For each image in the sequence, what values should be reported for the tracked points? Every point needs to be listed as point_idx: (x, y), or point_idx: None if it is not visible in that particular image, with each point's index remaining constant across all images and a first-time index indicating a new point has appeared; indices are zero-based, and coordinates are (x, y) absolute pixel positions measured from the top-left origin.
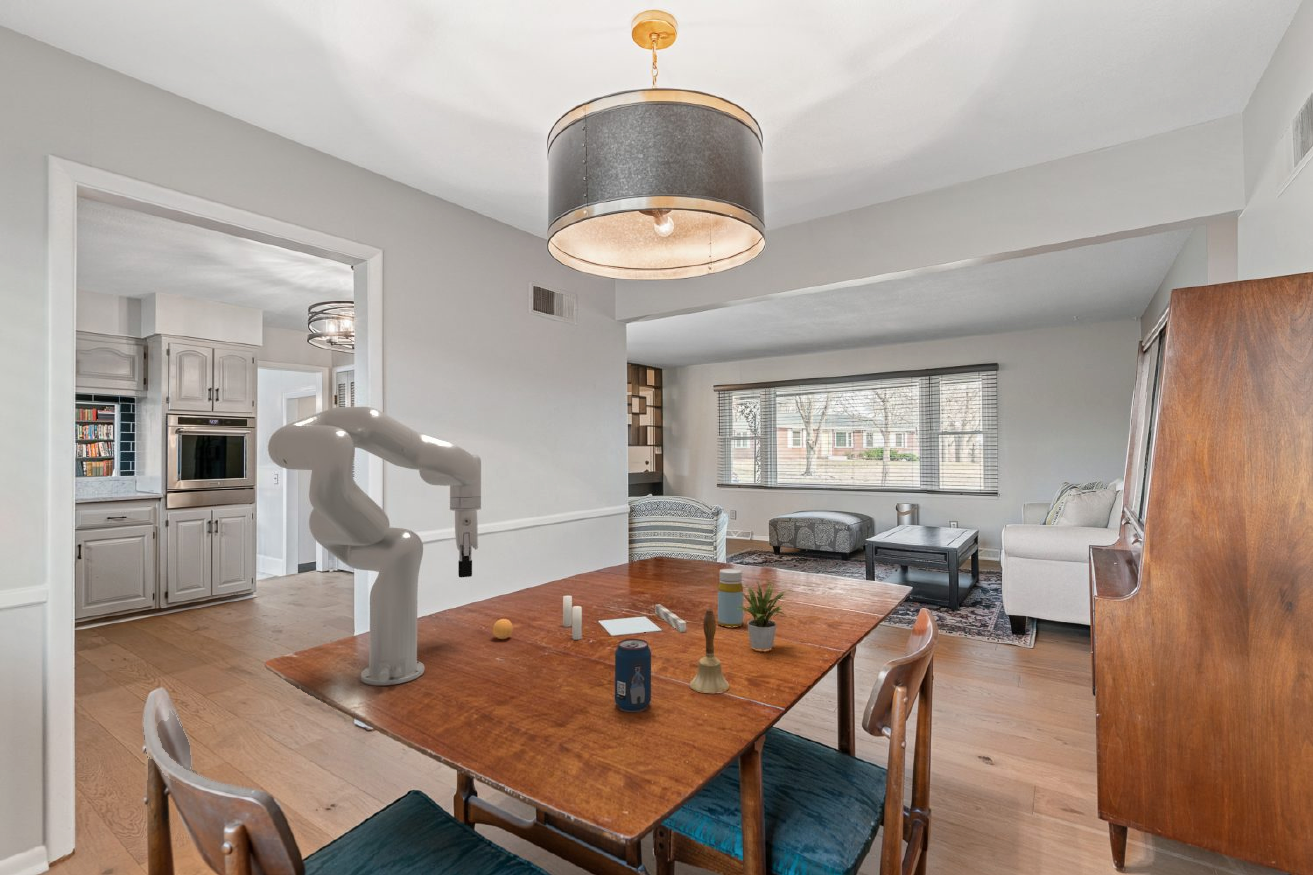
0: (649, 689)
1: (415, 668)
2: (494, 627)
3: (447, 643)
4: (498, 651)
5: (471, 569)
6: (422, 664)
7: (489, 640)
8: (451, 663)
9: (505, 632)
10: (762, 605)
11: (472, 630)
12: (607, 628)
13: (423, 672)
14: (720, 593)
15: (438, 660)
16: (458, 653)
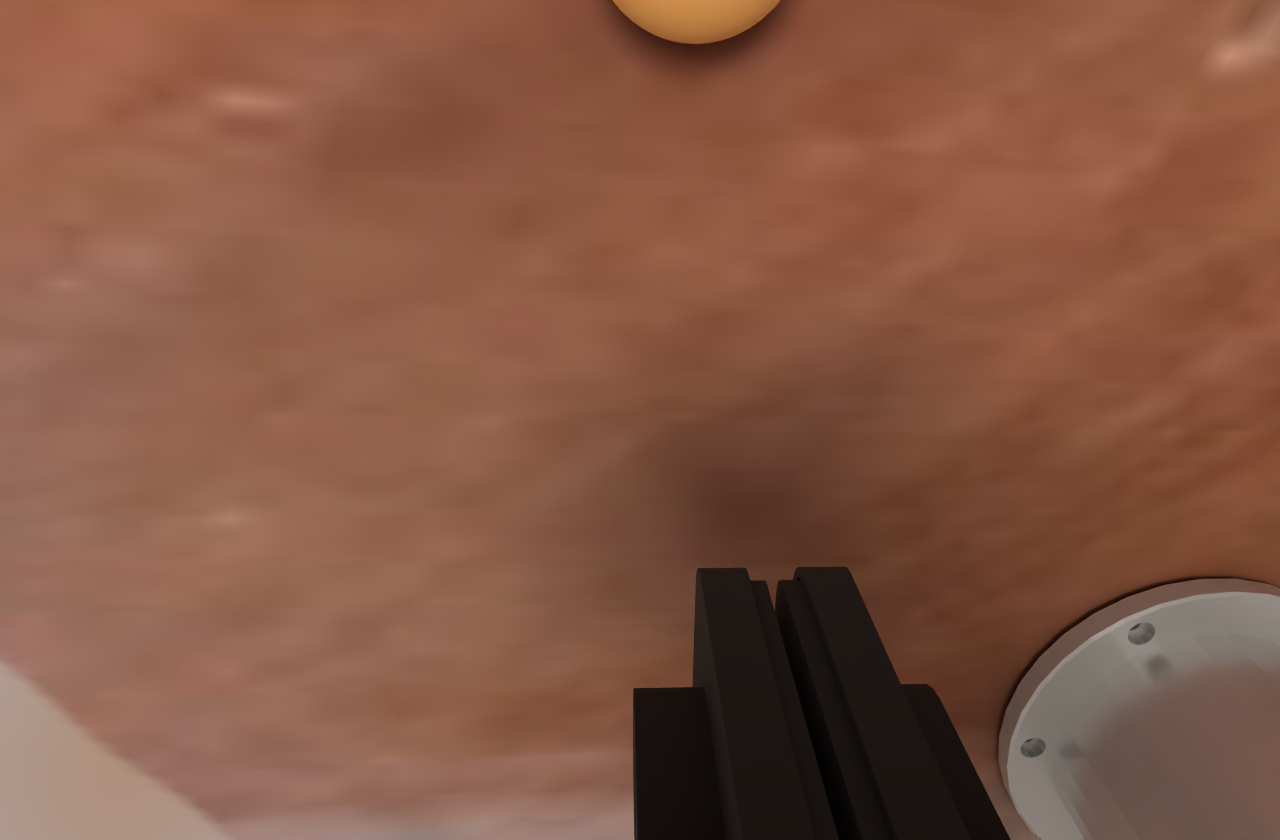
0: None
1: (1267, 642)
2: (736, 28)
3: (657, 431)
4: (1056, 27)
5: (888, 670)
6: (1193, 604)
7: (698, 80)
8: (1147, 414)
9: None
10: None
11: (329, 216)
12: None
13: (1257, 582)
14: None
15: (1034, 494)
16: (945, 360)
